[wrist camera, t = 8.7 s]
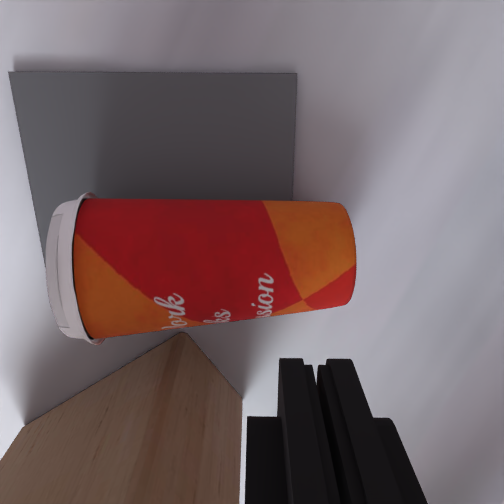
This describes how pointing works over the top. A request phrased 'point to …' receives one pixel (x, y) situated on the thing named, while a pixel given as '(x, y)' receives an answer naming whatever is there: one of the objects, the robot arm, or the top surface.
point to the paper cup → (193, 262)
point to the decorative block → (135, 438)
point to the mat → (155, 136)
